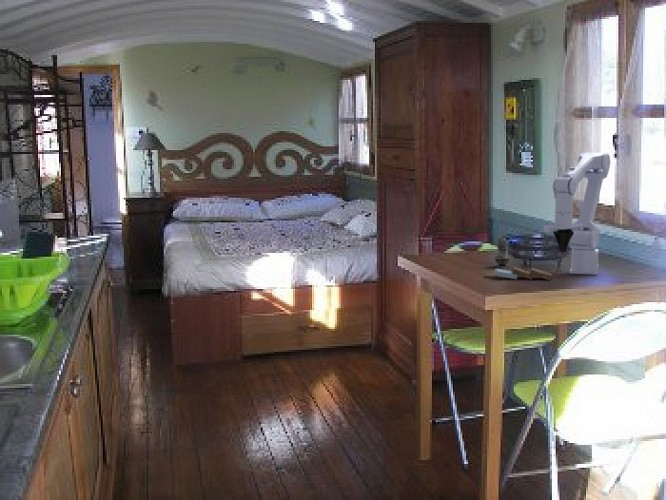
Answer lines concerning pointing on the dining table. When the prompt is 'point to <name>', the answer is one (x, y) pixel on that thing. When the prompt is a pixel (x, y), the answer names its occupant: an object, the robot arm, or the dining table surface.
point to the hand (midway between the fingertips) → (562, 251)
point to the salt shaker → (502, 254)
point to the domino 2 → (505, 273)
